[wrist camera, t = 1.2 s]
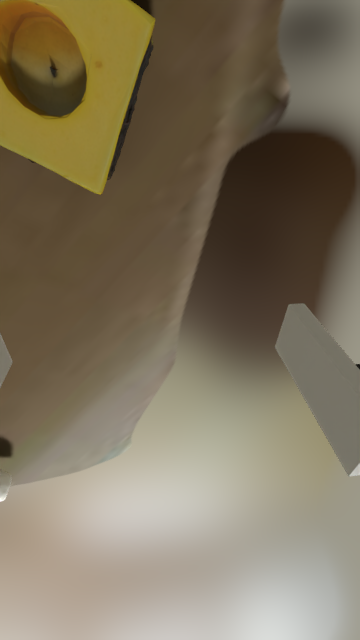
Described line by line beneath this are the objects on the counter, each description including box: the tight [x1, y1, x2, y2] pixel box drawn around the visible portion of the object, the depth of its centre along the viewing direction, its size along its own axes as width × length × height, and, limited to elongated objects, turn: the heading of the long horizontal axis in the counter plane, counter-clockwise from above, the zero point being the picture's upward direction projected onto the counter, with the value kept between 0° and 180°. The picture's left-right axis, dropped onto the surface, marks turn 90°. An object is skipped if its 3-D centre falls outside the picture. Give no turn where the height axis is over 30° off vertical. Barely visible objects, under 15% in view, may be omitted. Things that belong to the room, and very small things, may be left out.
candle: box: [0, 0, 155, 195], centre depth 20 cm, size 10×10×10 cm
